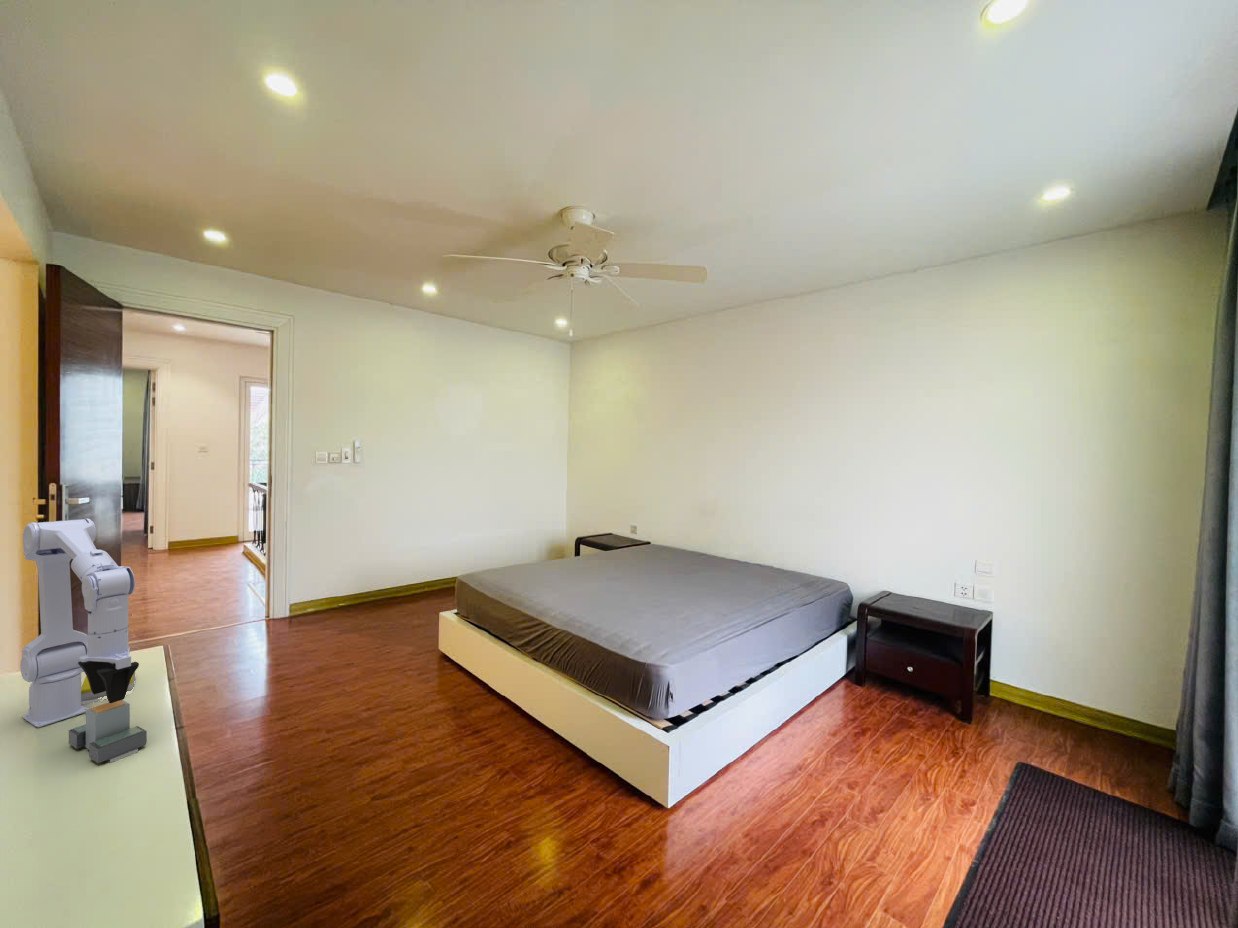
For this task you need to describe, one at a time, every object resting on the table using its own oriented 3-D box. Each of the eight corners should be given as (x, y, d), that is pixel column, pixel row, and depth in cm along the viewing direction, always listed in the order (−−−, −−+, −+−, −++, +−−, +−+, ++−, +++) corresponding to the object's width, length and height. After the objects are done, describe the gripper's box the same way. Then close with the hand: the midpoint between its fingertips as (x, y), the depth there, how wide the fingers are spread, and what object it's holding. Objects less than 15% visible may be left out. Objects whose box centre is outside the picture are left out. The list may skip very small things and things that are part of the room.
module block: (85, 747, 98) (85, 708, 98) (119, 734, 102) (119, 698, 102) (95, 753, 96) (95, 714, 96) (129, 740, 100) (129, 703, 100)
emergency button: (136, 659, 132) (132, 678, 121) (136, 675, 132) (132, 696, 121) (85, 669, 126) (76, 689, 115) (85, 686, 126) (76, 708, 115)
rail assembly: (67, 746, 99) (67, 728, 99) (114, 729, 105) (114, 712, 105) (99, 767, 93) (99, 748, 92) (147, 748, 99) (147, 730, 99)
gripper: (65, 629, 99) (65, 696, 99) (95, 642, 92) (95, 714, 93) (113, 619, 105) (113, 682, 105) (145, 630, 99) (144, 698, 99)
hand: (108, 696), depth 99 cm, fingers open, 7 cm apart
